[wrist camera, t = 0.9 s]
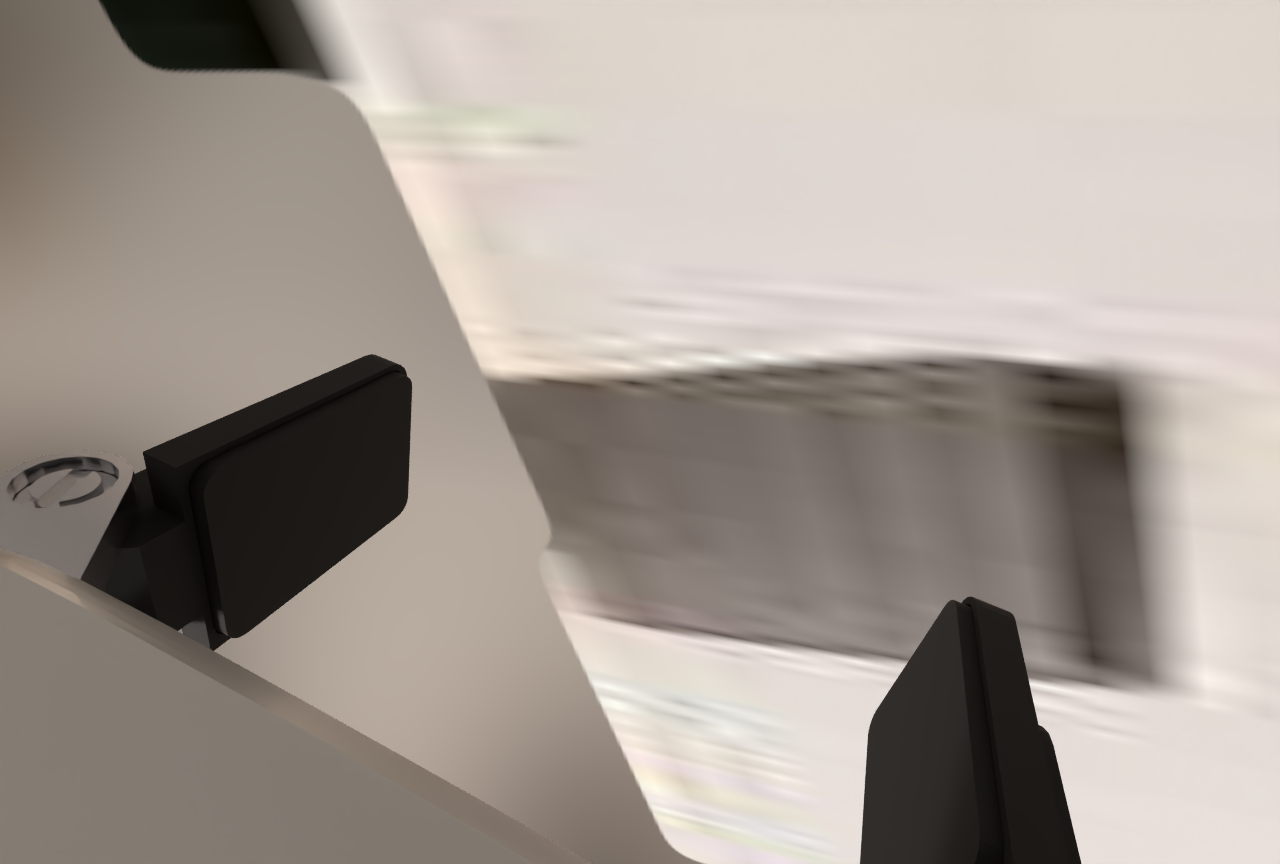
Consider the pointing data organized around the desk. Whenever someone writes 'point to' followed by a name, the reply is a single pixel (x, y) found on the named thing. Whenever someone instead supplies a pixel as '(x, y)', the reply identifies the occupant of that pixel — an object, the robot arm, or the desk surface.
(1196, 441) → the desk surface
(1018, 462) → the desk surface
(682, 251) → the desk surface
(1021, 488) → the desk surface
